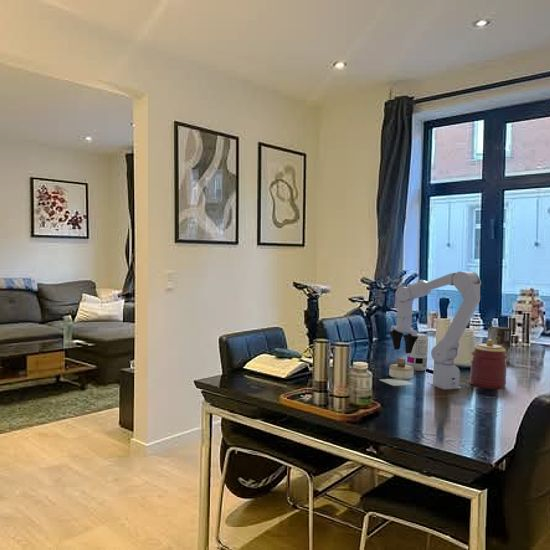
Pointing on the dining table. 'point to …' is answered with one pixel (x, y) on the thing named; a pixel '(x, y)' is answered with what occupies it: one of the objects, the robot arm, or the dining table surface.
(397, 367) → the lid
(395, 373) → the bowl
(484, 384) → the canister
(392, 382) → the mat
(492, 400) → the dining table surface
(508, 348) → the coffee box
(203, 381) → the dining table surface
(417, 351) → the supplement can
